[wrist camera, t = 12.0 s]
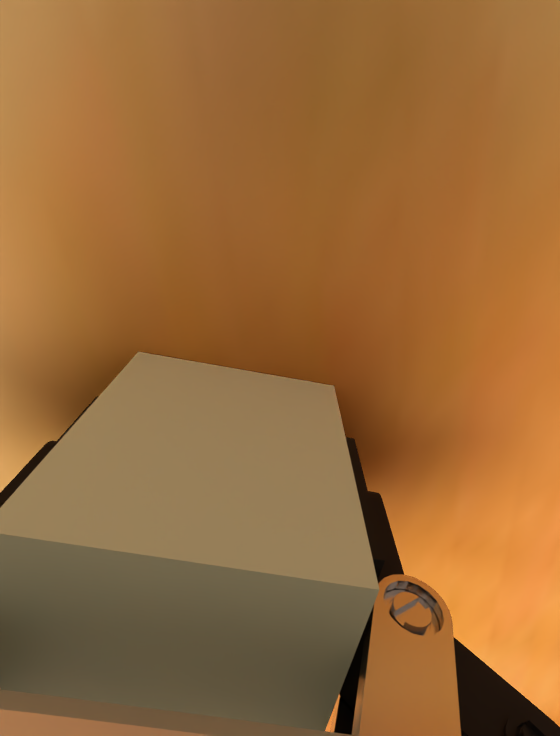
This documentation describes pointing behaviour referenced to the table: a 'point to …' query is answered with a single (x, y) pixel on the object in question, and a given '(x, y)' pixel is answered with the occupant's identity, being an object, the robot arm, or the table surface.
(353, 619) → the sage block
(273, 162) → the table surface
